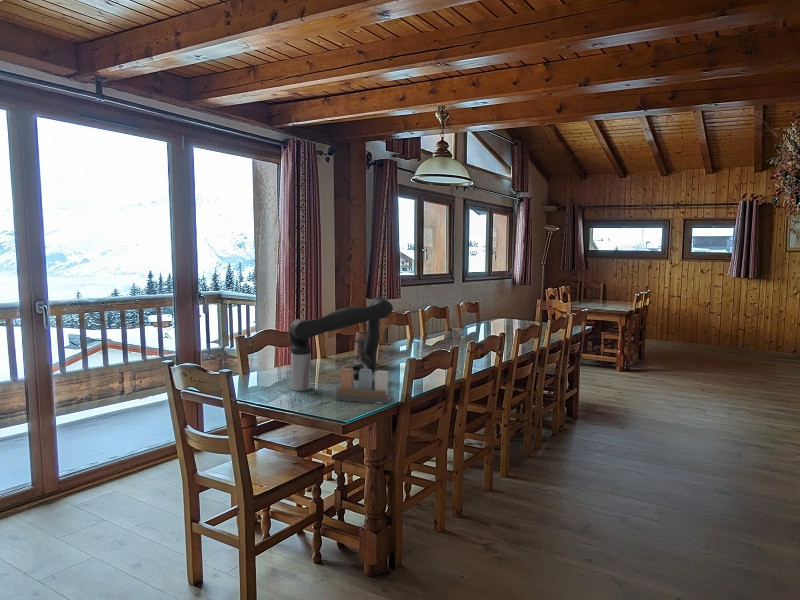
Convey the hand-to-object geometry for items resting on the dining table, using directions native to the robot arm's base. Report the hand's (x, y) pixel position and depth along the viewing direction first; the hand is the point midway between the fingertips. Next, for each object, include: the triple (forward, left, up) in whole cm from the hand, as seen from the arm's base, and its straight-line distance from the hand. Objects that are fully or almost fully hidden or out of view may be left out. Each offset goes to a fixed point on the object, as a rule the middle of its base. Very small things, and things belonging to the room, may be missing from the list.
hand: (348, 378), depth 247 cm
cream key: (+8, +14, -6) cm, 17 cm away
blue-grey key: (+3, +7, -6) cm, 10 cm away
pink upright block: (+2, -1, -6) cm, 6 cm away
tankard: (-66, +13, -8) cm, 68 cm away
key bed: (+5, +7, -8) cm, 12 cm away
